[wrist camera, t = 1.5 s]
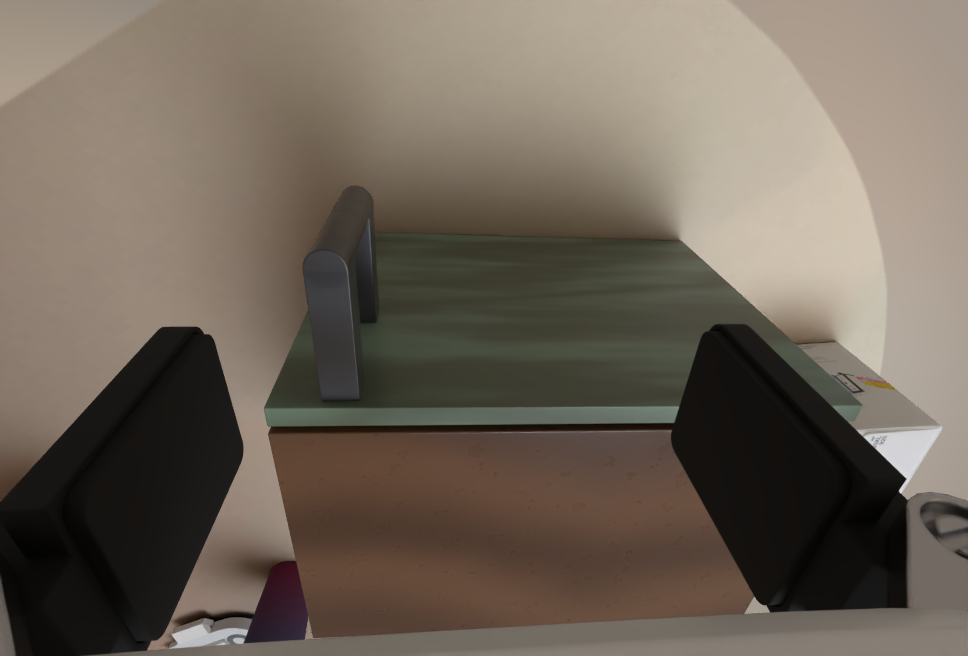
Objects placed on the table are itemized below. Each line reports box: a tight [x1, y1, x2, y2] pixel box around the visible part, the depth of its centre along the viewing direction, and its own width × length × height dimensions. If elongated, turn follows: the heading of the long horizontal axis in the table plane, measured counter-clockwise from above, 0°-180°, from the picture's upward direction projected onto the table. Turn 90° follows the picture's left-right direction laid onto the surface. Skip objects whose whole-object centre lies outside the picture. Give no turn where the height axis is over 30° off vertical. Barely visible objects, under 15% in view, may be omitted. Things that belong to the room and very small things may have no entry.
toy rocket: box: [168, 617, 253, 649], centre depth 63 cm, size 16×10×2 cm, turn 114°
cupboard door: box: [264, 186, 863, 427], centre depth 29 cm, size 8×26×20 cm, turn 87°
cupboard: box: [268, 423, 754, 638], centre depth 35 cm, size 16×26×20 cm, turn 87°
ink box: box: [797, 342, 942, 493], centre depth 44 cm, size 9×8×12 cm
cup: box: [244, 562, 308, 643], centre depth 52 cm, size 7×7×15 cm
